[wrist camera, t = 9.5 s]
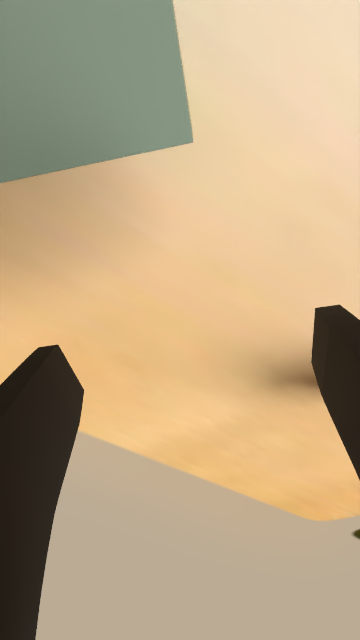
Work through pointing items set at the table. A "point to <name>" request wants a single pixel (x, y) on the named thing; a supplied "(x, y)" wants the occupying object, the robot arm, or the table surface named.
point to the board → (88, 83)
